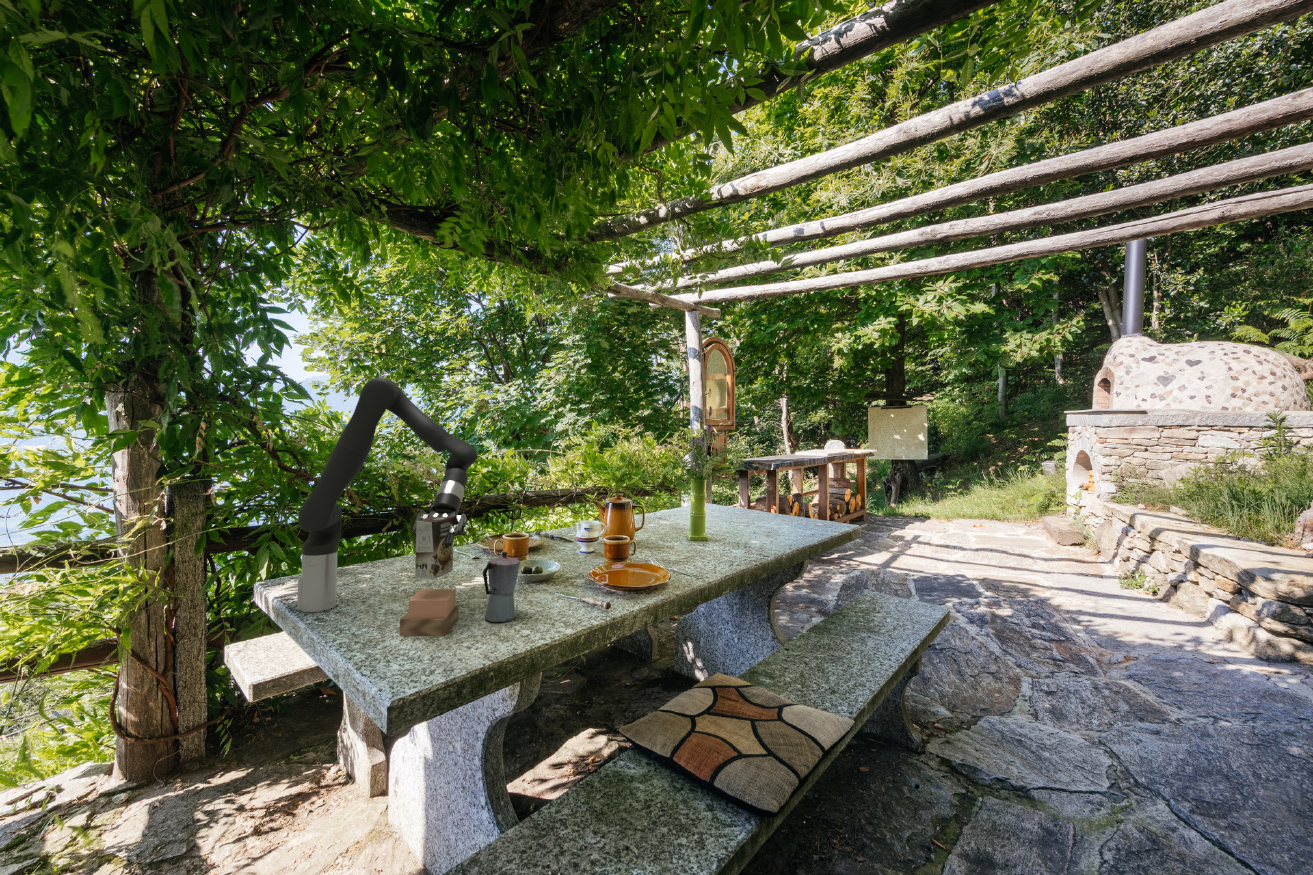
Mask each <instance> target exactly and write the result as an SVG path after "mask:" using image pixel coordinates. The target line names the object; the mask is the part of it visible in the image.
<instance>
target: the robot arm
mask: <svg viewBox="0 0 1313 875" xmlns="http://www.w3.org/2000/svg"><path fill="white" fill-rule="evenodd" d="M386 410H387V411H388V412H390V413H391V414H394V415H395V416H396V417H397V418H399V419H400V420H401V421H402V422H403V423H404V424H405V425H406V426H407V427H409V429H410V430H411V431H412V432H413V433H414V434H415V435H416V436H417V437H418V439H419V440H421V441H422V442H424V443H425V444H426V445H427V446H429V447H430V448H431V449H432V450H433V451H435V452H436V453H443V452H444V451H446V452H449V453H451V454H450V455H449V456H448V458H447V460H446V464H445V469H444V476H443V478H442V481H441V483H440V486H439V487H438V490H437V492H436V495H435V497H434V500H433V503H432V505H431V509H430V512H429V513H427V514H423V512H418V514H417V515H416V518H415V522H414V523H413V527H412V530H413V532H414V534H415V535H416V526H417V521H418V520H422V519H426V518H430V517H440V516H443V517H454V523H456V522H458V523H457V526H456V528H455V529H453V527H452V524H451V526H450V529H449V531H450V533H448V536H447V539H446V542H445V546H446V548H449V547H450V546H451V545H452V544H453V545H454V540H455V537H456V536H463V535H464V530H465V527H466V524H467V521H468V519H467V516H466V514H465V513H462V514H461V515H458V514H459V511H460V507H461V504H462V502H463V498H464V494H465V493H464V492H465V489H466V487H467V483H468V478H469V477H468V474H467V471H468V469H469V468H470V467H472V465H473V464H474V463H475V462H476V461H477V459H478V453H477V452H478V451H477V450H476V448H475V447H474V446H473V445H471V444H470V443H469V442H467V441H464V440H462V439H461V438H459V437H457V436H454V435H452V434H451V433H450V432H448V431H447V430H446V429H444V428H443V427H442V426H441V425H439V424H438V423H437V422H436V421H434V419H432V418H431V417H430V416H429V415H427V414H426V413H425V412H423V411H422V410H421V409H420V408H419V407H418V406H416V404H414V402H413V401H411V400H410V398H408V396H407V395H406V394H405V393H404V392H403V391H402V389H400V387H399V386H398V385H397V384H396V382H394V380H392V379H390V378H386V377H375V378H371V379H369V380H368V381H367V382H366V383H364V386H363V387H362V389H361V392H360V396H359V398H358V401H357V404H356V406H355V408H354V411H353V414H352V415H351V417H350V419H349V421H348V422H347V424H346V426H345V427H344V429H343V431H342V433H341V435H340V437H339V438H338V440H337V442H336V444H335V446H334V448H333V450H332V452H331V454H330V456H329V457H328V461H327V463H326V465H325V466H324V468H323V470H322V472H321V475H320V477H319V479H318V481H317V483H316V485H315V487H314V488H313V490H312V491H311V493H310V494H309V495H308V498H307V499H306V500H305V502H304V503H303V505H302V507H301V509H300V510H299V512H298V518H297V521H298V525H299V527H300V528H301V529H302V530H303V531H304V532H306V533H308V536H307V539H306V540H305V541H304V543H303V544H302V549H301V577H299V578H298V580H297V599H296V600H297V603H296V604H297V605H296V607H297V608H296V610H297V611H301V612H304V613H319V612H325V611H328V610H331V608H332V609H333V608H335V607H337V588H338V587H337V581H338V552H339V551H338V549H339V544H340V541H341V538H342V525H343V524H342V523H343V513H342V508H341V506H340V505H339V504H338V500H339V498H340V497H341V494H342V493H343V491H344V490H345V489H346V488H347V487H348V486H349V485H350V483H351V482H352V481H353V480H354V479H355V477H357V475H358V474H359V473H360V471H361V470H362V468H363V467H364V465H365V462H366V460H367V458H368V456H369V454H370V452H371V450H372V446H373V443H374V439H375V433H376V430H377V427H378V424H379V422H380V420H381V419H382V418H383V415H384V414H385V412H386ZM415 543H416V539H415ZM324 610H325V611H324Z"/></svg>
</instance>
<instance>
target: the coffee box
mask: <svg viewBox="0 0 1313 875" xmlns="http://www.w3.org/2000/svg"><path fill="white" fill-rule="evenodd" d="M451 524H452V527H453V529H454V526H455V525H454V524H455V522H454V517H443V516H440V517H430V518H426V519H422V520H418V521H417V526H416V534H415V540H416V542H415V563H414V566H415V567H414V578H417V579H427V580H436V579H438V578H440V577H443V576H445V575H447V574H449V573H451V572H453V571H454V543H453V544H452V545H451V546H450V547H449V548H446V546H445V542H446V539H447V536H448V533H450V531H449V529H450V526H451Z"/></svg>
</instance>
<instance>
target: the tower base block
mask: <svg viewBox="0 0 1313 875" xmlns="http://www.w3.org/2000/svg"><path fill="white" fill-rule="evenodd" d="M408 613H409V611H408V612H406V614H404V615H403V616H402V617H401V618H399V636H400V637H445V636H446V635H447V634H448V633H449V630H451V629H452V628H453V627H454V626H455V625H456V624H457V623H458V622H459V616H460V615H459V614H460V605H459V604H455V607H454V609H453V610H452V611H451V613H450V614H449V615H448V617H447V618H434V619H408ZM456 622H457V623H456ZM455 623H456V624H455Z"/></svg>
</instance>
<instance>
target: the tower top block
mask: <svg viewBox="0 0 1313 875" xmlns="http://www.w3.org/2000/svg"><path fill="white" fill-rule="evenodd" d="M456 593H457V590H456V589H455V588H454V589H453V588H451V589H450V588H445V589H443V588H442V589H439V588H437V589H434V588H431V589H430V588H429V589H428V588H426V589H422V588H421V589H419V590H417V592H416V593H415V594H414V595H413V596H412V597H411V598H410V599H409V600H408V612H409V613H408V612H407V613H408V619H434V618H447V617H448V615H449V614H450V613H451V611H452V610H453V609H454V607H455V605H456V601H457V600H456V598H457V597H456V595H457V594H456Z"/></svg>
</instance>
